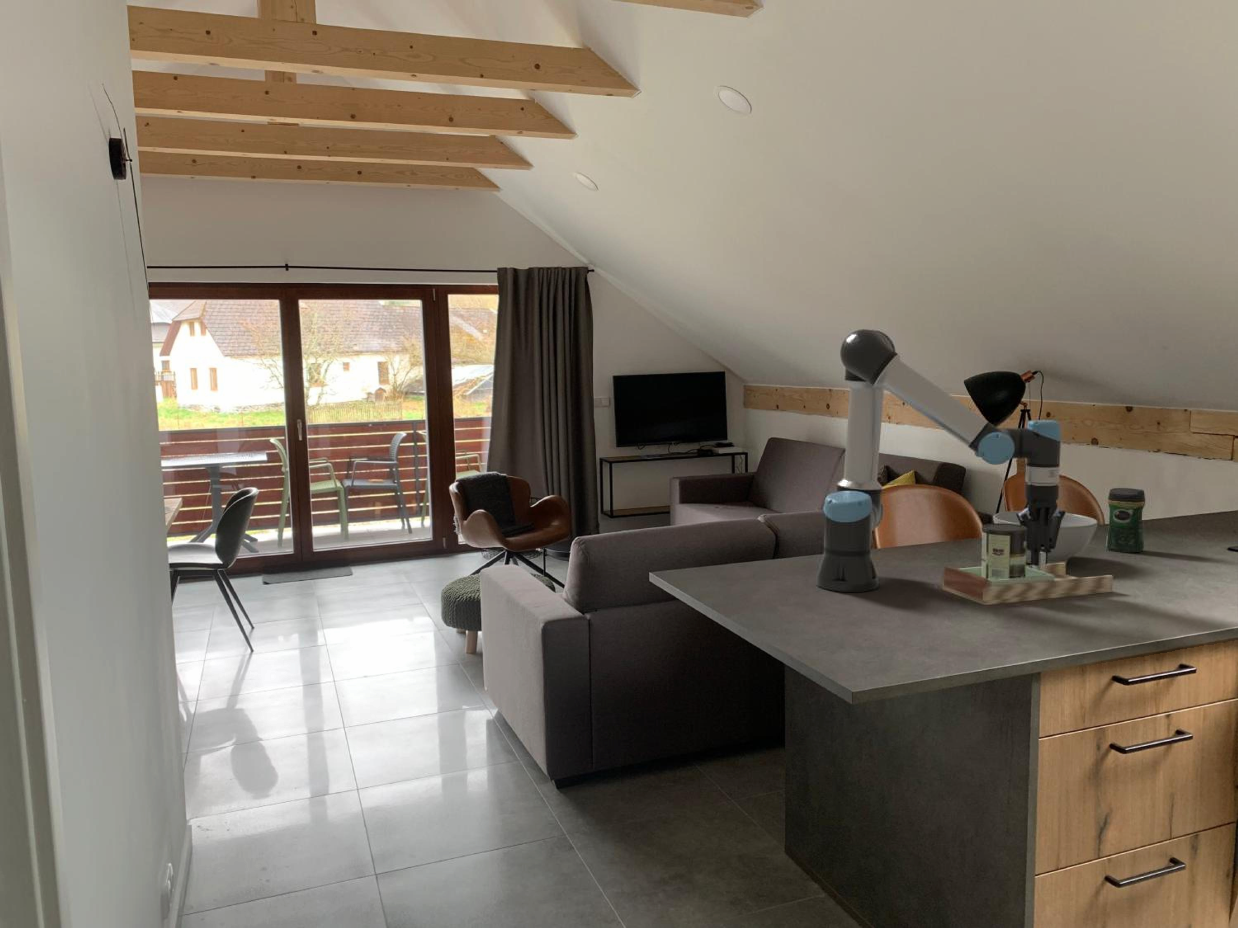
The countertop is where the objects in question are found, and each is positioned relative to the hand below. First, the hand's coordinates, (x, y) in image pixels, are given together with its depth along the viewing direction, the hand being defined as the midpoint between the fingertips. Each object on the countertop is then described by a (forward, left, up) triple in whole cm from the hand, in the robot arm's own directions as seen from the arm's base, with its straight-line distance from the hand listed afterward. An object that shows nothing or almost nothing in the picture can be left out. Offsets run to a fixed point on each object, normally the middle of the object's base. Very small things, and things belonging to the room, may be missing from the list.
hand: (1038, 577), depth 229 cm
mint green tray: (-10, 0, -2) cm, 11 cm away
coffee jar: (+57, +29, -3) cm, 64 cm away
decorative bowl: (+25, +26, -3) cm, 37 cm away
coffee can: (-10, 0, -1) cm, 10 cm away
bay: (-4, 0, -3) cm, 5 cm away
